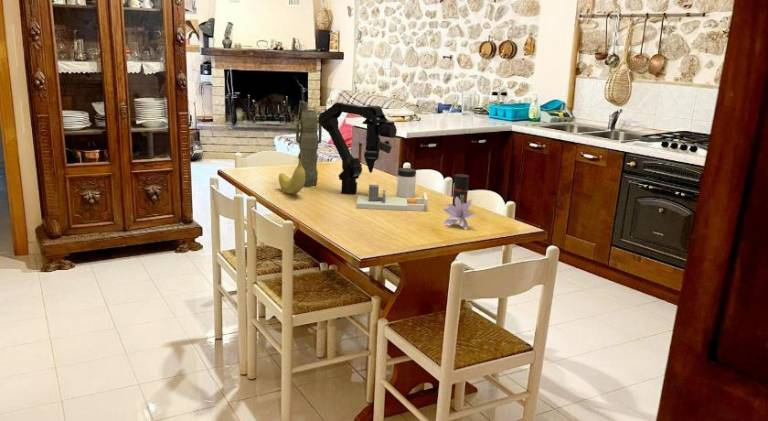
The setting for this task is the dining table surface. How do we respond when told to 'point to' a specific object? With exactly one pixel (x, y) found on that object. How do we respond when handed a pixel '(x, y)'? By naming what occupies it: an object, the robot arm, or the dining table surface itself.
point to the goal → (419, 204)
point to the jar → (406, 182)
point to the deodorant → (460, 188)
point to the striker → (375, 193)
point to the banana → (293, 179)
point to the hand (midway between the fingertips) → (371, 170)
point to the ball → (411, 201)
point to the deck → (382, 203)
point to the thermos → (309, 145)
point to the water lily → (458, 213)
